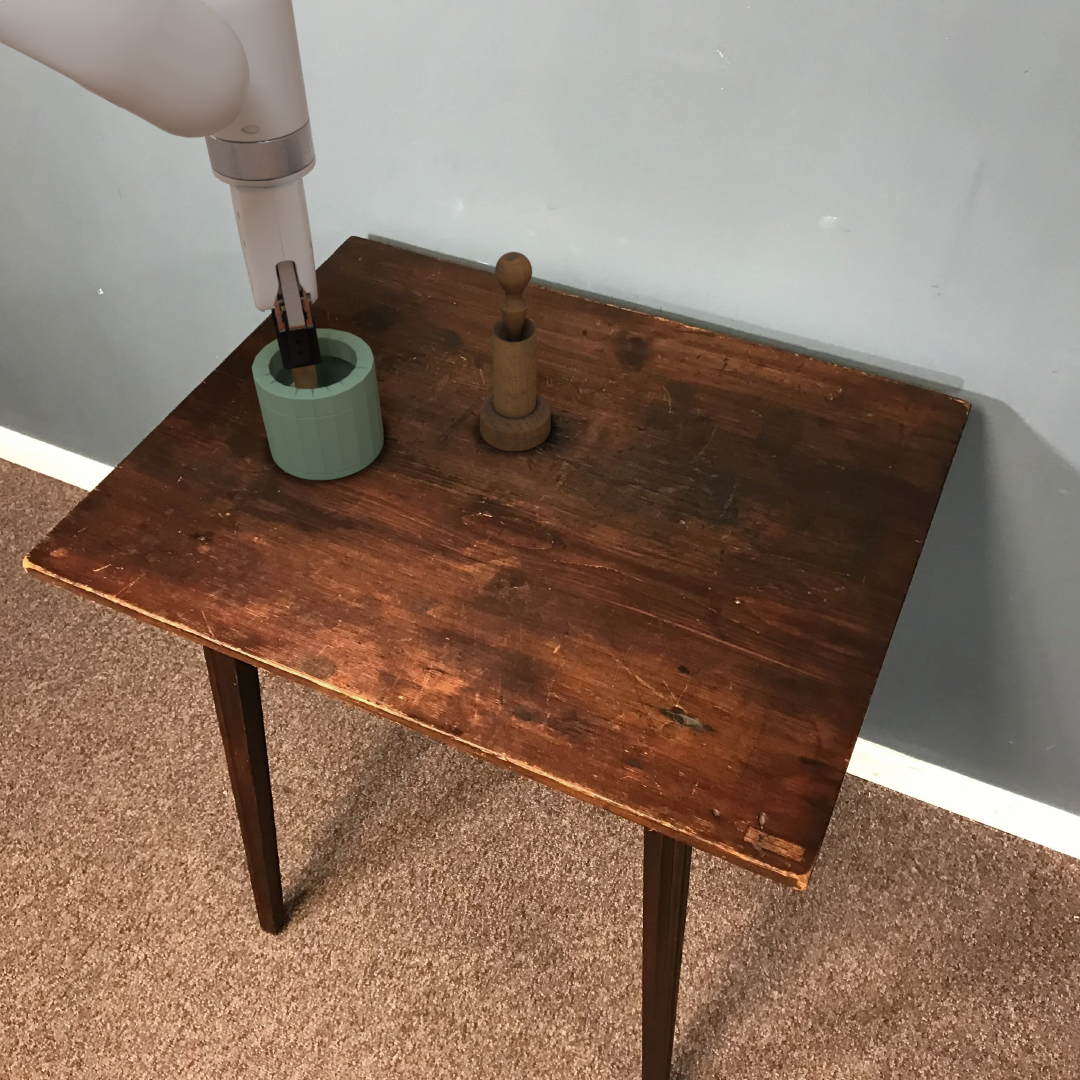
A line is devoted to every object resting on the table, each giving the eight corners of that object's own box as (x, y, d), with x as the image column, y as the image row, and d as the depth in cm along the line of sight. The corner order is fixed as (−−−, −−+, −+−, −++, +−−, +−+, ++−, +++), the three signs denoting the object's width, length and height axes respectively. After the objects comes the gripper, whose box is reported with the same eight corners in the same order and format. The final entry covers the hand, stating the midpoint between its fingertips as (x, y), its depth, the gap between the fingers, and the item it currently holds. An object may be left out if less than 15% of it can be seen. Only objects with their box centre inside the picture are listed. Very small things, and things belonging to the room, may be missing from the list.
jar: (278, 490, 90) (259, 408, 84) (265, 419, 97) (246, 339, 91) (393, 468, 92) (383, 386, 86) (372, 400, 99) (361, 320, 93)
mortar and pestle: (520, 461, 93) (519, 286, 80) (465, 433, 96) (455, 259, 83) (564, 425, 97) (569, 251, 84) (510, 398, 100) (507, 227, 87)
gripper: (199, 107, 80) (245, 313, 93) (217, 202, 69) (266, 420, 82) (297, 96, 81) (329, 300, 94) (329, 188, 71) (360, 403, 84)
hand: (300, 354), depth 88 cm, fingers closed
